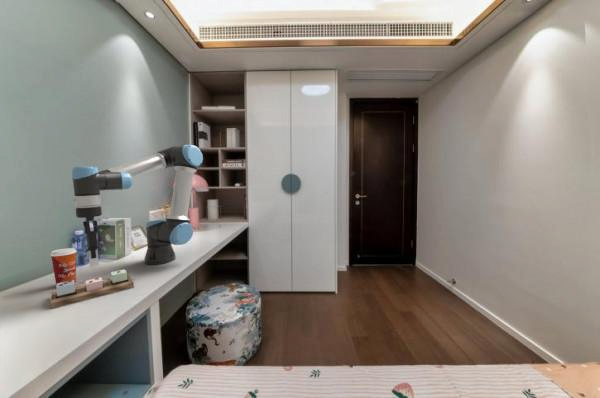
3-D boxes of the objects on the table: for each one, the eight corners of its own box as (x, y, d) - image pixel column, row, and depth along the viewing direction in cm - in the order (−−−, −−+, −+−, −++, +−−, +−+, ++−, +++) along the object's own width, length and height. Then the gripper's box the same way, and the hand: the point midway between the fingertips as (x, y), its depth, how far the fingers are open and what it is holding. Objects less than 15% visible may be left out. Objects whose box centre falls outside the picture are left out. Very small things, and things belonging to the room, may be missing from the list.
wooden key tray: (128, 279, 109) (128, 275, 109) (133, 287, 101) (133, 282, 101) (52, 297, 93) (51, 292, 93) (51, 308, 84) (50, 303, 84)
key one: (125, 276, 105) (124, 268, 105) (127, 279, 102) (126, 271, 102) (111, 279, 102) (110, 271, 102) (112, 283, 99) (112, 274, 98)
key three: (74, 287, 94) (74, 279, 94) (75, 291, 91) (74, 282, 91) (57, 291, 91) (56, 282, 91) (57, 296, 88) (56, 286, 87)
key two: (101, 284, 100) (101, 276, 100) (102, 288, 96) (102, 279, 96) (86, 288, 97) (85, 279, 96) (86, 292, 93) (86, 283, 93)
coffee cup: (62, 289, 100) (59, 253, 99) (47, 287, 101) (44, 252, 100) (84, 281, 108) (82, 247, 107) (69, 279, 110) (67, 247, 109)
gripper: (74, 206, 96) (80, 264, 98) (76, 208, 87) (82, 272, 89) (99, 204, 102) (104, 259, 104) (102, 206, 92) (108, 267, 94)
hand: (94, 265), depth 96 cm, fingers closed
